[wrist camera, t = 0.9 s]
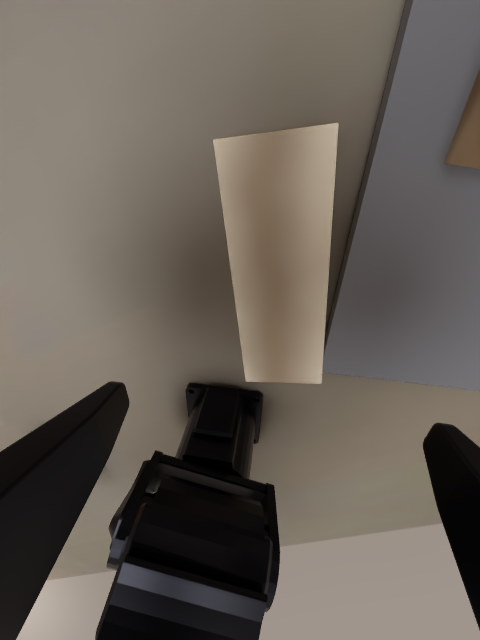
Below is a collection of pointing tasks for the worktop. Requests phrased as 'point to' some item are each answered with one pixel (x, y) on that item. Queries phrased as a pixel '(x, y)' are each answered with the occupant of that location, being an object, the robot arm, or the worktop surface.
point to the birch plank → (279, 246)
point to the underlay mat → (416, 218)
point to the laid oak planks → (468, 133)
